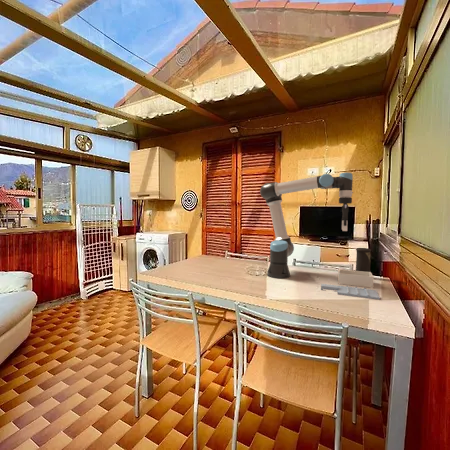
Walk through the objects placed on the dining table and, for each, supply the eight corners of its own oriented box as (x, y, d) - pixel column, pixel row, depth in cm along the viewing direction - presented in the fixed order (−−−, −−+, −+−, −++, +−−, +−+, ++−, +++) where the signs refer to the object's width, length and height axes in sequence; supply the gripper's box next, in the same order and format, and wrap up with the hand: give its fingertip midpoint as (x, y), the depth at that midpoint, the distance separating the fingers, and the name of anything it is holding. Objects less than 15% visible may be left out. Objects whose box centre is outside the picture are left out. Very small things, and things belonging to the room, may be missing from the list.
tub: (338, 285, 148) (338, 273, 147) (337, 280, 159) (338, 269, 158) (373, 289, 140) (373, 276, 140) (370, 283, 151) (370, 272, 151)
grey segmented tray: (320, 292, 134) (320, 287, 134) (321, 285, 146) (321, 281, 146) (379, 300, 123) (380, 295, 123) (375, 292, 135) (375, 287, 135)
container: (372, 279, 159) (373, 249, 158) (357, 279, 161) (358, 248, 160) (367, 276, 168) (368, 247, 167) (353, 275, 170) (354, 246, 168)
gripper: (353, 196, 146) (352, 231, 147) (350, 198, 169) (349, 229, 170) (339, 196, 149) (338, 231, 150) (338, 198, 172) (337, 228, 173)
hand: (344, 230), depth 160 cm, fingers open, 13 cm apart
